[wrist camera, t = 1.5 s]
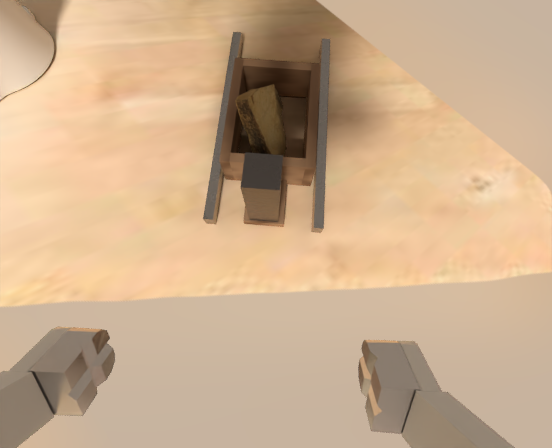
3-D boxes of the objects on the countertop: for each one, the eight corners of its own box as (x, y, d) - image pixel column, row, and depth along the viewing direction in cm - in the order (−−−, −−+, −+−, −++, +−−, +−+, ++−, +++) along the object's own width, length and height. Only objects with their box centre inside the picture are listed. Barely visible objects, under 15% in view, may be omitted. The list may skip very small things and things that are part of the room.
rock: (255, 76, 41) (210, 117, 37) (292, 46, 34) (241, 94, 30) (298, 136, 45) (261, 179, 42) (338, 122, 38) (298, 172, 35)
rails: (206, 223, 37) (203, 218, 35) (234, 43, 45) (233, 32, 43) (320, 232, 37) (323, 228, 35) (327, 50, 45) (330, 39, 43)
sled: (219, 221, 37) (197, 185, 26) (239, 85, 43) (228, 10, 32) (308, 228, 36) (322, 195, 26) (315, 91, 42) (329, 18, 32)
